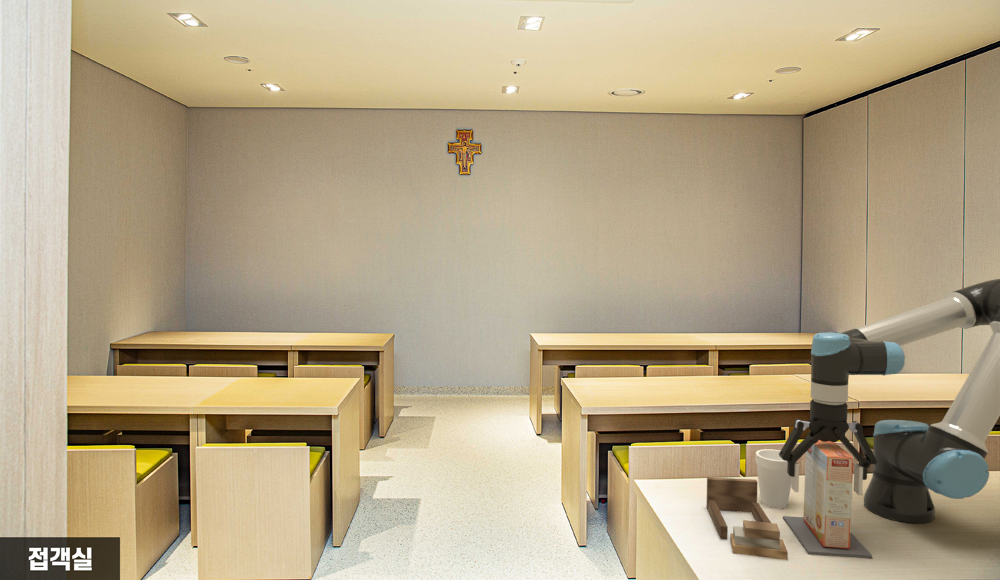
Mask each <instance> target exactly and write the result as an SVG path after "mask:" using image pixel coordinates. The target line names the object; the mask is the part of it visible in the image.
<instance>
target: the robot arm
mask: <svg viewBox="0 0 1000 580" xmlns="http://www.w3.org/2000/svg"><path fill="white" fill-rule="evenodd" d="M979 326H989V327H990V330H992V335H991V336H990V338H989V340H988V341H987V343H986V345H985V346H984V348H983V350H982V352H981V353H980V355H979V357H978V359H977V361H976V362H975V364H974V366H973V367H972V369H971V370H970V373H969V374H968V375H967V377H966V379H965V381H964V383H963V385H962V386H961V388H960V390H958V391H959V392H958V393H957V395H956V397H955V398H954V400H953V402H952V403H951V405H950V407H949V408H948V410H947V412H946V413H945V415H944V417H943V419H942V420H941V421H940V422H937V423H932V424H930V425H929V424H928V423H926V422H925V423H924V422H921V421H914V420H905V419H904V420H903V419H883V420H879V421H877V422H876V423H875V424H874V431H873V434H872V436H873V450H872V448H871V447H870V444H869V443H868V440H867V439H866V437H865V435H864V429H863V425H862V423H859V422H858V421H857V420H854V421H852V422H848V408H849V407H848V406H849V405H848V404H847V402H848V400H849V378H850V377H849V376H858V375H859V376H890V375H896V374H900V373H901V371H903V368H904V367H905V364H906V362H905V359H906V357H905V356H906V355H905V352H904V350H903V348H902V347H901V346H905V345H907V344H908V345H909V344H911V343H915V342H917V341H920V340H923V339H926V338H930V337H932V336H936V335H938V334H942V333H944V332H948V331H950V330H954V329H958V328H960V329H962V330H968V329H971V328H974V327H979ZM810 354H811V358H810V359H811V361H810V363H811V365H810V368H811V369H810V370H811V371H810V374H811V375H810V378H811V379H810V398H811V400H809V401H810V402H809V407H810V408H809V420H808V421H805V420H800V419H799V418H796V419H795V420H794V424H793V429H792V430H791V432H790V434H789V436H788V437H787V439H786V441H785V443H784V445H783V446H782V448H781V449H780V453H779V456H780V457H781V458H782V459H783V460H784V461H787V462H788V465H787V473H788V475H789V476H791V489H792V490H793V491H794V493H799V486H800V485H799V484H800V483H799V482H800V481H799V480H800V464H799V463H798V461H799V460H800V459H801V458H802V457H803V455H804V454H806V451H807V450H808V449H809V448H810V447H811V446H812V445H813V444H815V443H817V442H818V441H819V440H820V441H822V442H827V441H831V442H835V443H837V442H839V441H840V442H841V443H842V445H843V446H844V447H845V448H846V450H848V453H849V454H850V455H851V456H852V457H853V458H854V459H856V461H857V463H856V462H853V492H855V493H856V494H857V495H858V496H863V505H864V507H865V508H866V509H867V510H868V511H870V512H872V513H873V514H876V515H877V516H880V517H883V518H885V519H889V520H893V521H898V522H903V523H911V524H912V523H913V524H925V523H930V522H933V521H934V520H935V518H936V517H935V515H936V509H935V505H934V502H933V499H932V497H931V493H930V491H932V492H934V493H936V494H938V495H942V496H944V497H946V498H949V499H955V500H956V499H957V500H963V499H965V498H971V497H973V496H975V495H976V494H978V493H980V492H981V491H982V490H983V489H984V488H985V486H986V485H987V482H988V481H989V479H990V472H989V471H988V470H989V468H990V467H989V464H988V462H987V461H986V460H985V459H986V457H987V455H988V453H989V451H988V448H987V446H986V439H988V436H989V435H990V434H991V432H992V430H993V428H994V427H995V424H996V423H997V421H999V417H1000V278H995V279H991V280H990V279H989V280H985V281H983V282H979V283H976V284H972V285H969V286H966V287H963V288H960V289H957V290H954V291H952V292H949V293H946V295H944V297H943V299H940V300H937V301H934V302H931V303H928V304H925V305H923V306H918V307H917V308H916V307H915V308H914V309H910V310H907V311H904V312H900V313H898V314H895V315H892V316H889V317H886V318H883V319H880V320H877V321H874V322H871V323H867V324H865V325H862V326H859V327H856V328H851V329H848V330H845V331H843V332H836V331H832V332H818V333H815V334H814V335H813V337H812V342H811V351H810ZM807 428H808V429H809V430H810V431H809V432H808V433H807V435H806V436H805V438H804V439H802V440H801V442H800V443H799V444H798V445H797V443H798V442H799V440H800V438H801V436H802V435H803V433H804V431H805V430H806V429H807ZM849 430H850V431H851V432H852V433H853V435H854V437H855V439H856V440H857V443H858V445H859V447H860V449H861V451H862V453H863V454H864V456H865V457H864V456H863V455H862V454H861V453H860V452H859V451H858V449H857V448H856V447H855V446H854V445H853V444H852V443H851V441H850V440H849V439H848V438H847V437H846V435H845V434H846V433H847V432H848V431H849ZM796 445H797V446H796ZM871 465H872V477H871V480H870V482H869V483H868V486H867V488H866V490H865V492H864V495H863V487H864V485H863V484H864V483H863V482H864V481H867V479H868V468H870V466H871ZM929 490H930V491H929Z"/></svg>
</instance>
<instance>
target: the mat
mask: <svg viewBox="0 0 1000 580" xmlns="http://www.w3.org/2000/svg"><path fill="white" fill-rule="evenodd" d="M782 519H783V521H784V522H785V523H786V525H787V526H788V528H789V529H790V531H791V532H792V533H793V535H794V536H795V537H796V539H797V541H798V542H799V543H800V545H801V546H802V548H803V549H804V551H805V552H806V554H808V555H816V556H830V557H843V558H844V557H845V558H846V557H847V558H857V559H860V558H862V559H863V558H864V559H873V557H874V556H873V555H872V553H870V551H869V550H868V549H867V548H866V547H865V546H864V545H863V543H861V542H860V540H859V539H858V538H857V537H856V536H855V535H854V534H853V533H852V532H851V531H850V549H843V548H832V547H823V546H822V544H821V543H820V542H819V540H818V539H817V538H816V536H815V535H814V534H813V532H812V531H811V530H810V528H809V527H808V526H807V524H806V523H805V522H804V520H803V516H788V515H782Z"/></svg>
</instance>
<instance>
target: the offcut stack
mask: <svg viewBox="0 0 1000 580" xmlns="http://www.w3.org/2000/svg"><path fill="white" fill-rule="evenodd" d="M729 536H730V537H729V538H730V546H731V551H732V554H735V555H736V554H737V555H745V556H752V557H761V558H768V559H776V560H785V561H788V554H789V552H788V549H787V546H786V544H785V541H784V539H781V531H780V528H779V526H778V523H773V522H771V523H766V522H757V521H756V520H746V519H743V520H742V526H737V525H733V526H732V533H730V535H729Z"/></svg>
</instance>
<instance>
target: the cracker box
mask: <svg viewBox="0 0 1000 580" xmlns="http://www.w3.org/2000/svg"><path fill="white" fill-rule="evenodd" d="M854 459H855V457H854V456H853V455H852V454H851V453H849V452H847V451H846V450H844V448H842V447H841V446H840V445H839V444H838V443H837V442H831V441H827V442H822V441H820V440H819V441H818V442H817V443H815V444H813V445H812V446H811V447H810V448H809V449H808V450H807V451H806V452H805V462H804V463H805V464H804V465H805V466H804V492H803V493H804V495H803V516H802V517H803V520H804V522H805V523H806V524H807V526H808V527H809V528H810V530H811V531H812V532H813V534H814V535H815V536H816V538H817V539H818V540H819V542H820V543H821V544H822V546H823V547H832V548H843V549H850V532H851V529H852V528H851V527H852V523H851V522H852V506H853V505H852V504H853V503H852V502H853V485H854V463H855V462H854V461H855V460H854Z"/></svg>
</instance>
